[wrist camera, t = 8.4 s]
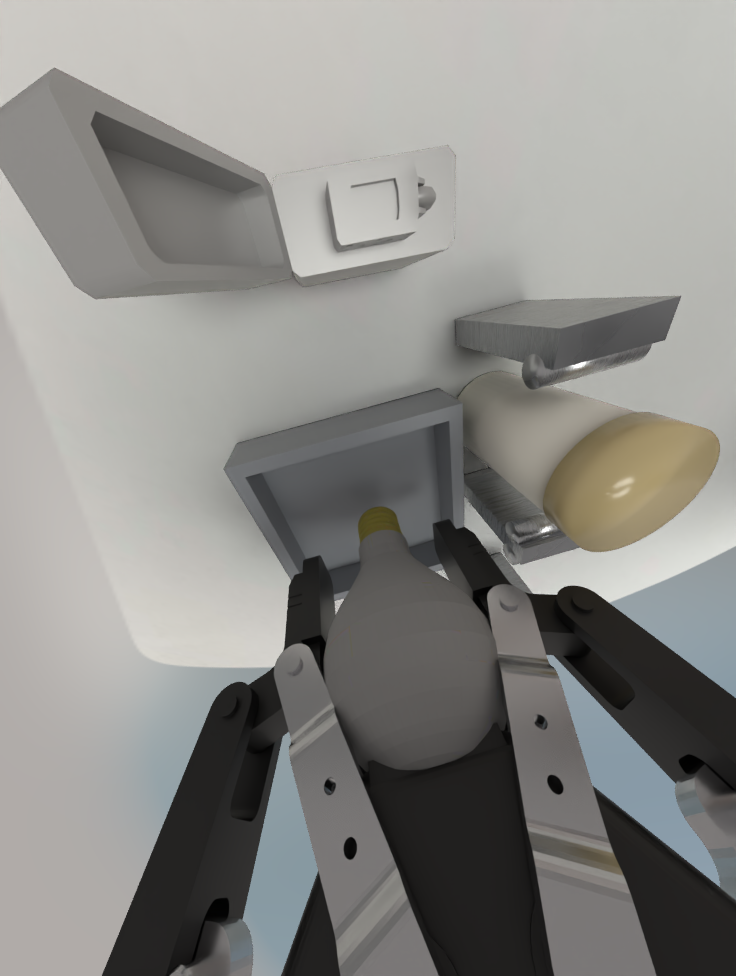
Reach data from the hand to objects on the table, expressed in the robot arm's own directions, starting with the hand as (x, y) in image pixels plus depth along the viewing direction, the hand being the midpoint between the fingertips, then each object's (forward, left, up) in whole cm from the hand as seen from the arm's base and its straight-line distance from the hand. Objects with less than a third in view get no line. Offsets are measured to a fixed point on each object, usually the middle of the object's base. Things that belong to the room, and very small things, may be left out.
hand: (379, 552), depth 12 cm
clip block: (-7, +1, -4) cm, 9 cm away
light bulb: (0, 0, -3) cm, 3 cm away
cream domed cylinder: (-7, -3, -4) cm, 9 cm away
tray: (0, 0, -4) cm, 4 cm away
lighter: (0, -11, -5) cm, 12 cm away
